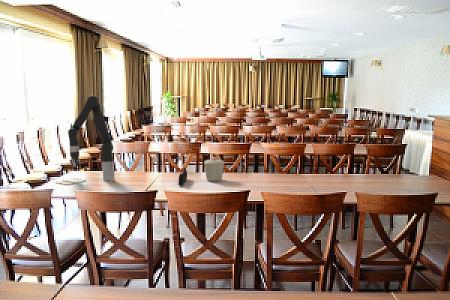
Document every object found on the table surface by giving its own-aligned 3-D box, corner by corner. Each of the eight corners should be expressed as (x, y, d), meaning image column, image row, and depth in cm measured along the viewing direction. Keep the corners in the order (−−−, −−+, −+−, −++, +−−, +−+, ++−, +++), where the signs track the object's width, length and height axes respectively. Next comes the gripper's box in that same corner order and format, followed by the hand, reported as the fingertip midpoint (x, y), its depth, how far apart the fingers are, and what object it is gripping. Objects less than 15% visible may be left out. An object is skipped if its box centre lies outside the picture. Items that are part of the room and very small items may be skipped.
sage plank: (86, 182, 351) (86, 180, 351) (76, 184, 343) (76, 182, 343) (74, 180, 360) (74, 178, 360) (65, 182, 352) (64, 180, 351)
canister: (207, 178, 370) (207, 155, 367) (226, 179, 366) (226, 155, 363) (201, 182, 353) (201, 158, 350) (221, 183, 348) (221, 158, 345)
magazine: (181, 176, 331) (186, 160, 358) (177, 176, 331) (182, 160, 358) (182, 195, 338) (187, 177, 365) (179, 194, 338) (183, 177, 365)
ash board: (75, 184, 342) (75, 182, 342) (67, 186, 336) (67, 184, 335) (63, 182, 351) (63, 180, 351) (55, 183, 344) (55, 181, 344)
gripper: (83, 150, 350) (84, 170, 352) (73, 150, 357) (74, 169, 359) (75, 152, 344) (77, 172, 346) (65, 151, 351) (67, 171, 353)
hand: (75, 170), depth 353 cm, fingers closed
